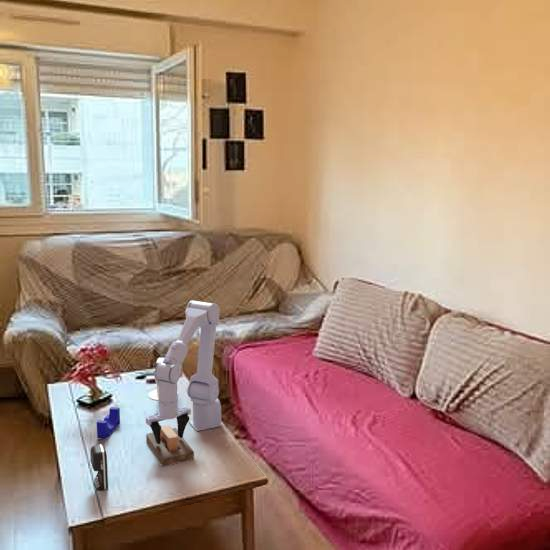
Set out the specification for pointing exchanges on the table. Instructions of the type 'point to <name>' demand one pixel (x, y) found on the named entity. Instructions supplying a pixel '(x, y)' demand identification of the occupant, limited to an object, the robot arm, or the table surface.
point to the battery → (99, 466)
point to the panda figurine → (155, 393)
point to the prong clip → (169, 438)
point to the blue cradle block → (108, 423)
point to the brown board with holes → (171, 456)
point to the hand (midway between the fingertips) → (169, 439)
